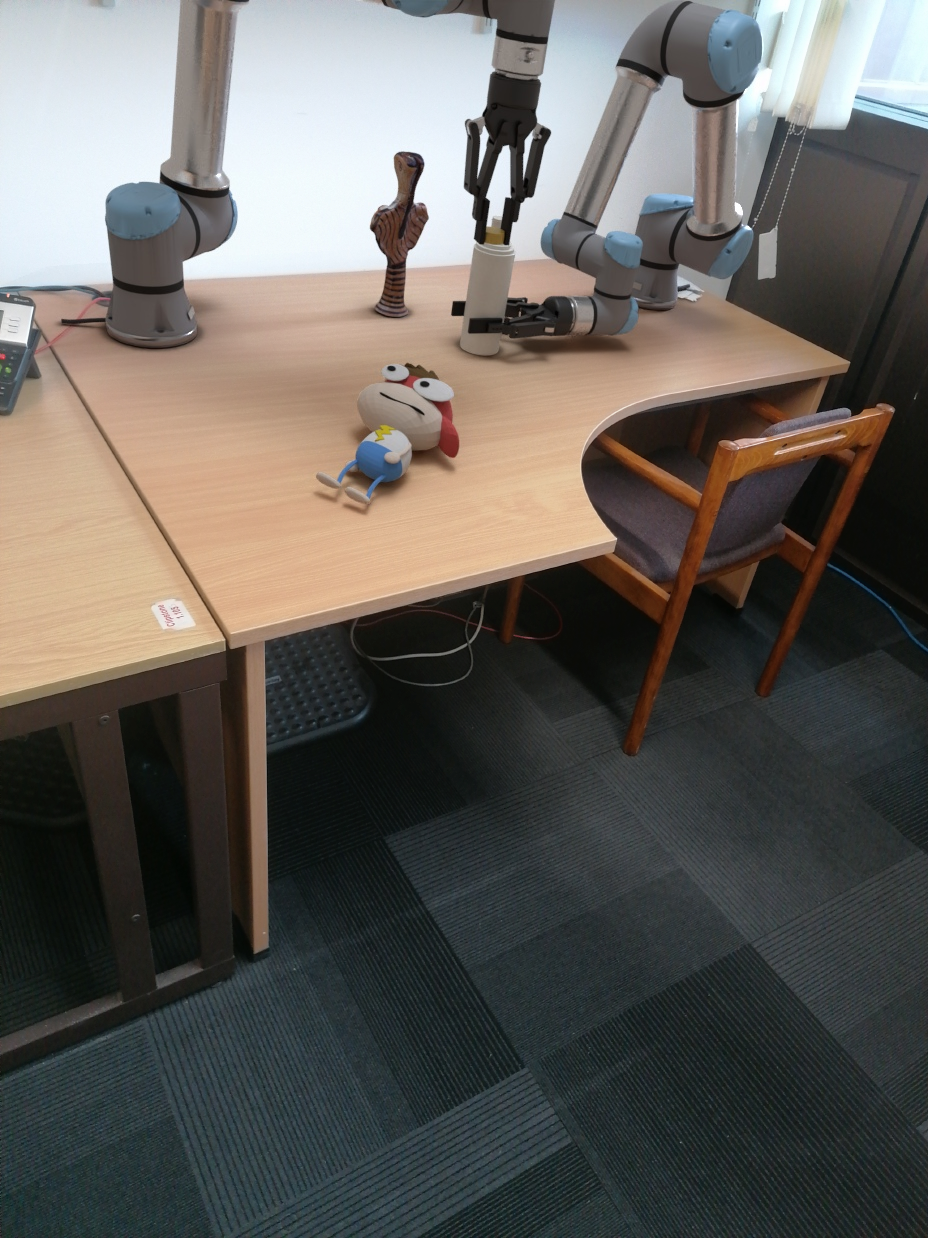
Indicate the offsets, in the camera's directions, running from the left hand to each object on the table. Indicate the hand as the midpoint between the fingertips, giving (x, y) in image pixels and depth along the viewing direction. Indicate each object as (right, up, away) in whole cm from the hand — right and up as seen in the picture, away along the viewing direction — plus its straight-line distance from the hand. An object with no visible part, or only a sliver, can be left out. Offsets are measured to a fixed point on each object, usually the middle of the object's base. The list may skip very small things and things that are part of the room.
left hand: (491, 241), depth 143 cm
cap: (0, +1, -1) cm, 1 cm away
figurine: (-19, +2, +40) cm, 44 cm away
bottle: (-1, -7, +31) cm, 32 cm away
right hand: (-5, -3, +26) cm, 26 cm away
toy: (-16, -37, -8) cm, 41 cm away
